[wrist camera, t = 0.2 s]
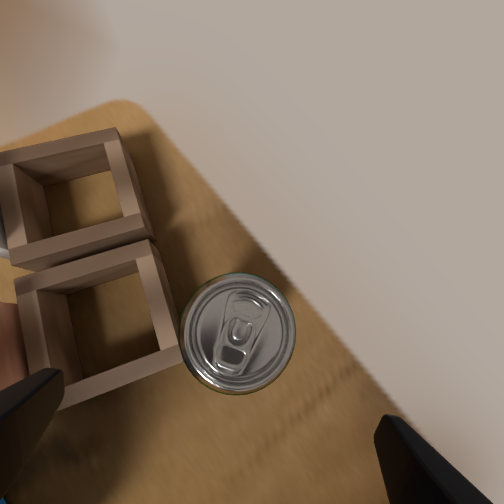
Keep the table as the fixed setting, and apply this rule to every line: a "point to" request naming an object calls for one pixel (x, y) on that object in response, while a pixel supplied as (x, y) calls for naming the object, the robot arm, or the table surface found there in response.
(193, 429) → the table surface
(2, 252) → the socket block
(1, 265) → the table surface
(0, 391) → the robot arm
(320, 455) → the table surface
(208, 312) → the soda can
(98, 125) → the table surface
